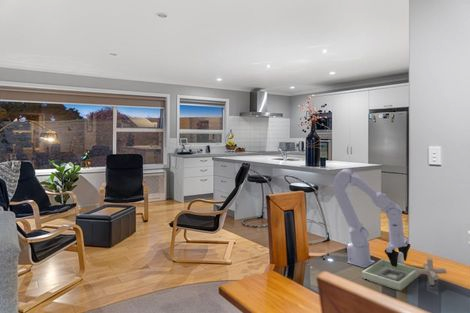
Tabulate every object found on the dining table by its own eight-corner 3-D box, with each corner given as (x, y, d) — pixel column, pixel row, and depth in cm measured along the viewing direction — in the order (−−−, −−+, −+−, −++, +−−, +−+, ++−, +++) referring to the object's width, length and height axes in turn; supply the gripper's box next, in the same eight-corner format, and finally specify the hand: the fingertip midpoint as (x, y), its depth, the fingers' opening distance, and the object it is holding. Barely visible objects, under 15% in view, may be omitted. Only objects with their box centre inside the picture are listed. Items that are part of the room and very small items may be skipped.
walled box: (362, 278, 135) (361, 271, 135) (382, 265, 145) (381, 258, 144) (400, 291, 122) (399, 283, 122) (420, 275, 132) (419, 268, 131)
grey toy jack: (452, 290, 119) (450, 263, 118) (422, 290, 121) (420, 264, 120) (440, 277, 128) (438, 253, 127) (413, 278, 130) (411, 254, 130)
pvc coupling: (392, 267, 142) (391, 253, 141) (397, 263, 144) (395, 250, 144) (401, 269, 139) (400, 256, 138) (406, 266, 141) (405, 252, 141)
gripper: (396, 239, 133) (399, 271, 134) (413, 229, 141) (416, 259, 142) (380, 236, 138) (383, 266, 139) (397, 227, 147) (400, 256, 148)
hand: (399, 263), depth 141 cm, fingers open, 7 cm apart
